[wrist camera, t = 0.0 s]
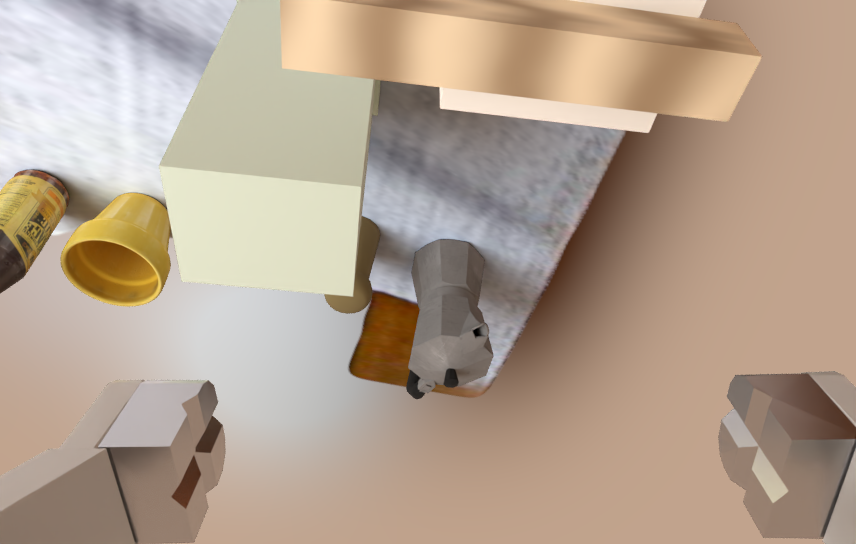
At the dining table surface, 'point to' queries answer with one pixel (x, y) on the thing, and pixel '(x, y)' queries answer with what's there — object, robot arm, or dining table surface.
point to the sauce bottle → (27, 221)
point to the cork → (360, 271)
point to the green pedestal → (269, 166)
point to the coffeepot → (448, 318)
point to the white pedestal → (681, 3)
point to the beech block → (528, 51)
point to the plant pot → (121, 252)
